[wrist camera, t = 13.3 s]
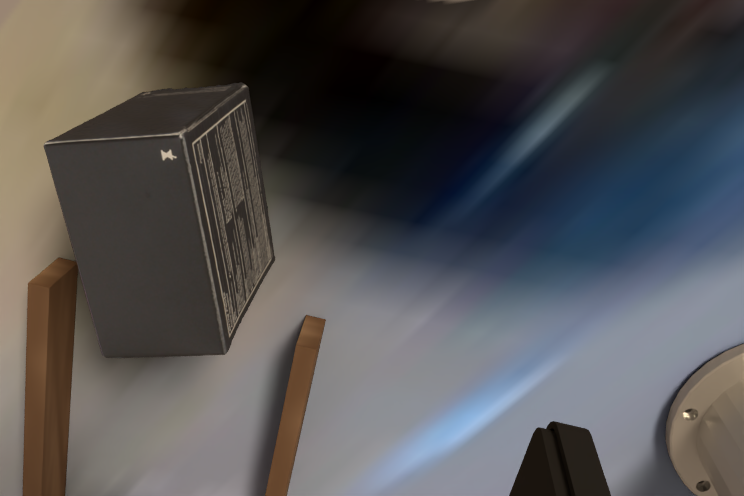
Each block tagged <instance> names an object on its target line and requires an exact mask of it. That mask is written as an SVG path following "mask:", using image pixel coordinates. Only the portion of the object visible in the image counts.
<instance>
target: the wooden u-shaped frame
mask: <svg viewBox="0 0 744 496" xmlns="http://www.w3.org/2000/svg"><path fill="white" fill-rule="evenodd" d="M77 276H78V265H77V262H75V261H71V260H67V259H62V258H58V259H56V260H55V261H54V262H53V263H52V264H50V265H49V266H48V267H47V268H46V269H44V270H43V271H42V272H41V273H40V274H38V275H37V276H36V277H35V278H34V279H32V280H31V281H30V282H29V283H28V308H27V347H26V387H25V426H24V465H23V496H65V487H66V469H67V452H68V434H69V417H70V399H71V382H72V364H73V346H74V329H75V311H76V294H77ZM325 321H326V320H325V319H321V318H317V317H312V316H308V315H306V317H305V320H304V323H303V326H302V329H301V332H300V335H299V338H298V341H297V344H296V348H295V353H294V358H293V363H292V368H291V372H290V377H289V382H288V387H287V392H286V397H285V402H284V406H283V411H282V416H281V421H280V426H279V431H278V436H277V440H276V445H275V450H274V455H273V460H272V465H271V470H270V475H269V479H268V484H267V489H266V494H265V496H287V492H288V488H289V483H290V479H291V474H292V470H293V465H294V461H295V456H296V452H297V447H298V443H299V438H300V434H301V429H302V424H303V420H304V415H305V411H306V406H307V402H308V397H309V393H310V388H311V384H312V379H313V375H314V370H315V366H316V361H317V357H318V352H319V348H320V343H321V339H322V334H323V330H324V325H325Z"/></svg>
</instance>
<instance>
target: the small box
mask: <svg viewBox="0 0 744 496" xmlns="http://www.w3.org/2000/svg"><path fill="white" fill-rule="evenodd" d="M44 149H45V152H46V155H47V159H48V163H49V166H50V170H51V173H52V177H53V181H54V184H55V188H56V191H57V195H58V198H59V202H60V205H61V209H62V212H63V216H64V219H65V223H66V226H67V230H68V233H69V237H70V240H71V244H72V248H73V251H74V255H75V258H76V262H77V265H78V269H79V273H80V276H81V280H82V283H83V287H84V291H85V294H86V298H87V301H88V305H89V309H90V312H91V316H92V320H93V323H94V327H95V330H96V334H97V338H98V342H99V345H100V349H101V352H102V355H103V357H106V358H140V357H169V356H202V355H225V354H226V353H227V352H228V350H229V348H230V345H231V342H232V339H233V337H234V335H235V333H236V330H237V328H238V326H239V324H240V323H241V320H242V318H243V317H244V315H245V313H246V311H247V310H248V307H249V306H250V303H251V302H252V300H253V298H254V296H255V294H256V292H257V290H258V289H259V286H260V285H261V283H262V282H263V279H264V277H265V276H266V274H267V272H268V271H269V269H270V267H271V265H272V264H273V263H274V261H275V256H274V250H273V243H272V236H271V229H270V223H269V217H268V206H267V203H266V197H265V190H264V184H263V177H262V171H261V164H260V156H259V150H258V145H257V138H256V132H255V125H254V119H253V113H252V108H251V102H250V96H249V88H248V86H246V85H245V84H243V83H241V82H240V83H239V84H238V83H233V84H229V85H226V86H220V85H217V86H214V87H211V86H208V87H204V88H203V87H199V88H184V89H175V90H174V89H171V88H168V89H162V90H156V91H151V92H142V93H140V94H138V95H137V96H135V97H133V98H131V99H129V100H127V101H125V102H124V103H122V104H120V105H118V106H116V107H114V108H112V109H110V110H108V111H106V112H105V113H103V114H100V115H98V116H96V117H95V118H93V119H90V120H89V121H87V122H84V123H83V124H81V125H79V126H77V127H75V128H73V129H71V130H69V131H67V132H66V133H64V134H62V135H60V136H58V137H56V138H54V139H52V140H49V141H47V142H45V143H44Z"/></svg>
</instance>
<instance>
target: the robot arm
mask: <svg viewBox="0 0 744 496" xmlns="http://www.w3.org/2000/svg"><path fill="white" fill-rule="evenodd" d="M665 439H666V444H667V449H668V454H669V456H670V459H671V461H672V463H673V466H674V468H675V470H676V472H677V473H678V475H679V477H680V478H681V480H682V481H683V483H684V484H685V485H686V486H687V487H688V488H689V489H690V490H691V491H692V492H693V493H694V494H695V495H696V496H744V344H742V345H740V346H737V347H735V348H732V349H730V350H728V351H725V352H724V353H722V354H721V355H719V356H717V357H716V358H714V359H712V360H711V361H709V362H707V363H706V364H705V365H704V366H703V367H702V368H700V369H699V370H698V371H697V372H696V373H695V374H693V375H692V376H691V378H690V379H689V380H688V381H687V382H686V384H685V385H684V386H683V387H682V388H681V390H680V391H679V393H678V395H677V397H676V398H675V400H674V402H673V404H672V406H671V408H670V412H669V415H668V419H667V422H666V438H665ZM509 496H611V494H610V491H609V488H608V485H607V482H606V479H605V476H604V473H603V470H602V467H601V464H600V461H599V458H598V454H597V451H596V448H595V445H594V442H593V439H592V436H591V434H590V432H589V430H587V429H585V428H580V427H576V426H572V425H567V424H563V423H559V422H554V421H553V422H550V424H549V425H548V426H547V428H546V429H544V428H537V429H536V430H535V431H534V433H533V436H532V438H531V441H530V443H529V446H528V449H527V451H526V454H525V456H524V459H523V461H522V464H521V467H520V469H519V472H518V474H517V477H516V480H515V482H514V485H513V487H512V490H511V492H510V495H509Z"/></svg>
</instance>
